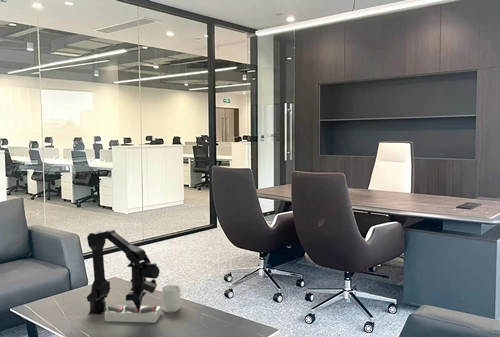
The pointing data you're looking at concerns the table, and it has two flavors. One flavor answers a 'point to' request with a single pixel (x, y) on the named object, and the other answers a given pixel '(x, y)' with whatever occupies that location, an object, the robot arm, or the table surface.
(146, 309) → the rocker
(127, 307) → the rocker
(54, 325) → the table surface
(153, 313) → the power strip
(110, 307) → the rocker
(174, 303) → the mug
